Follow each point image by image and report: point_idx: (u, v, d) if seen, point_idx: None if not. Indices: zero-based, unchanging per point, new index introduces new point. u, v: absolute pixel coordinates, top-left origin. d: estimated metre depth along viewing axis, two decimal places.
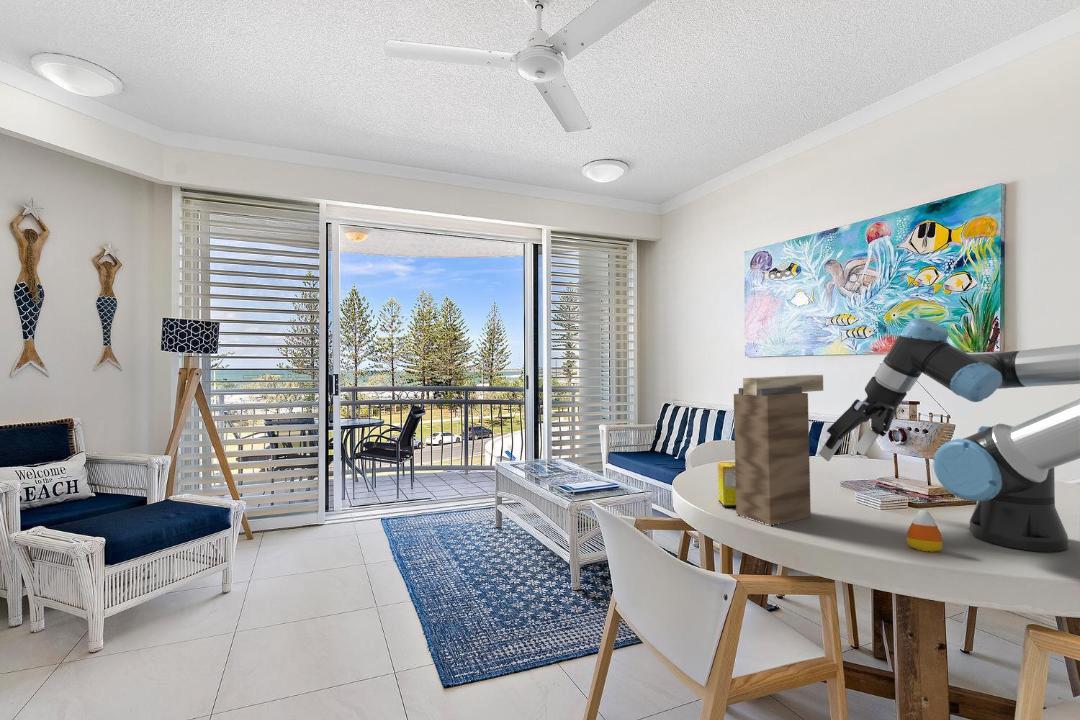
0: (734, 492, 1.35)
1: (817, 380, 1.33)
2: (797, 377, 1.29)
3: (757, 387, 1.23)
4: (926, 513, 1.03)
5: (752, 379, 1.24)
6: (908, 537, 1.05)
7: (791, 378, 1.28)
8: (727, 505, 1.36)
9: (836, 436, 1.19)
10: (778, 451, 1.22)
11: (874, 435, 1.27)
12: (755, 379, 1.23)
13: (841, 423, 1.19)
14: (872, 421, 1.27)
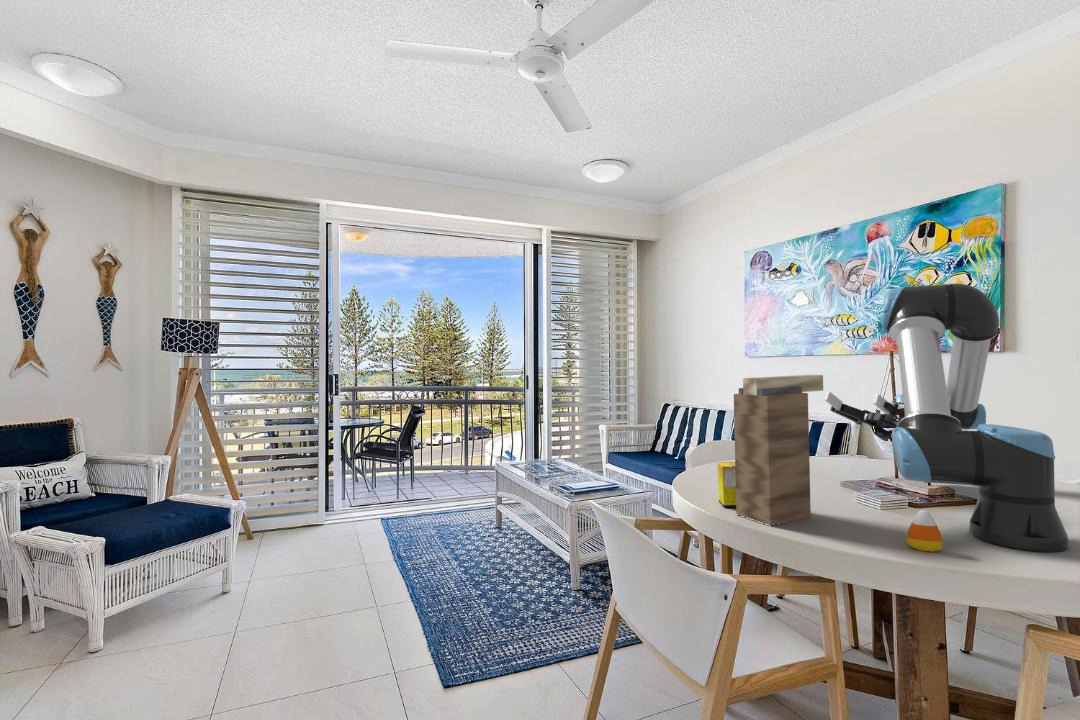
0: (734, 492, 1.35)
1: (817, 380, 1.33)
2: (797, 377, 1.29)
3: (757, 387, 1.23)
4: (926, 513, 1.03)
5: (752, 379, 1.24)
6: (908, 537, 1.05)
7: (791, 378, 1.28)
8: (727, 505, 1.36)
9: None
10: (778, 451, 1.22)
11: None
12: (755, 379, 1.23)
13: None
14: (887, 416, 1.41)
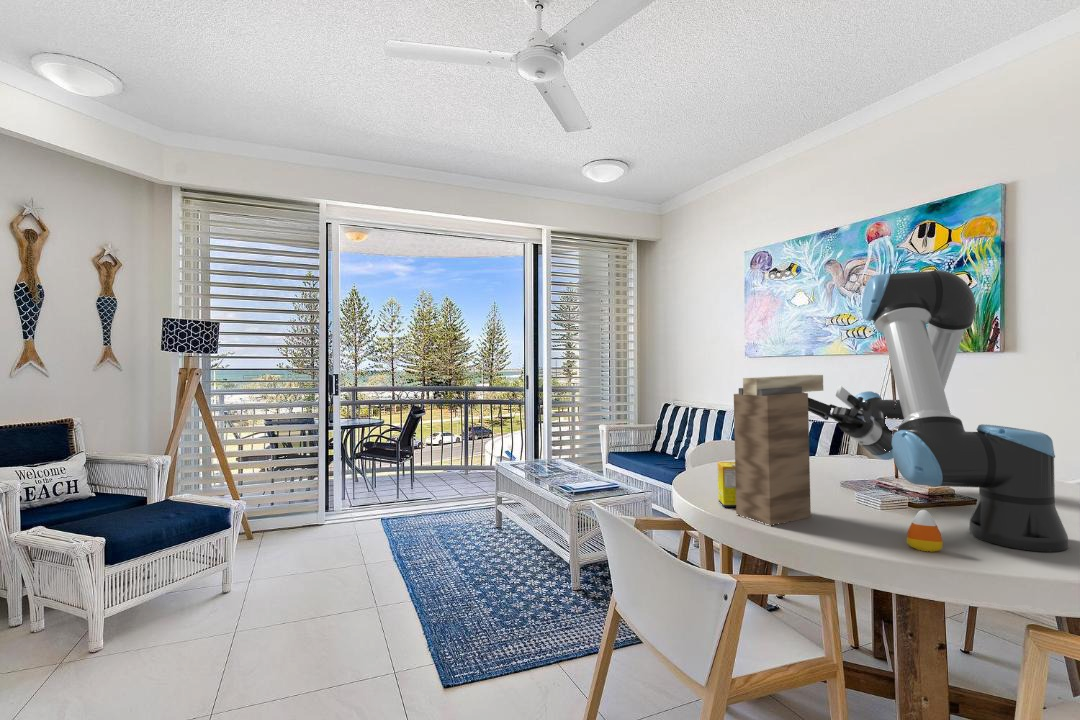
0: (734, 492, 1.35)
1: (817, 380, 1.33)
2: (797, 377, 1.29)
3: (757, 387, 1.23)
4: (926, 513, 1.03)
5: (752, 379, 1.24)
6: (908, 537, 1.05)
7: (791, 378, 1.28)
8: (727, 505, 1.36)
9: None
10: (778, 451, 1.22)
11: None
12: (755, 379, 1.23)
13: None
14: (852, 410, 1.35)
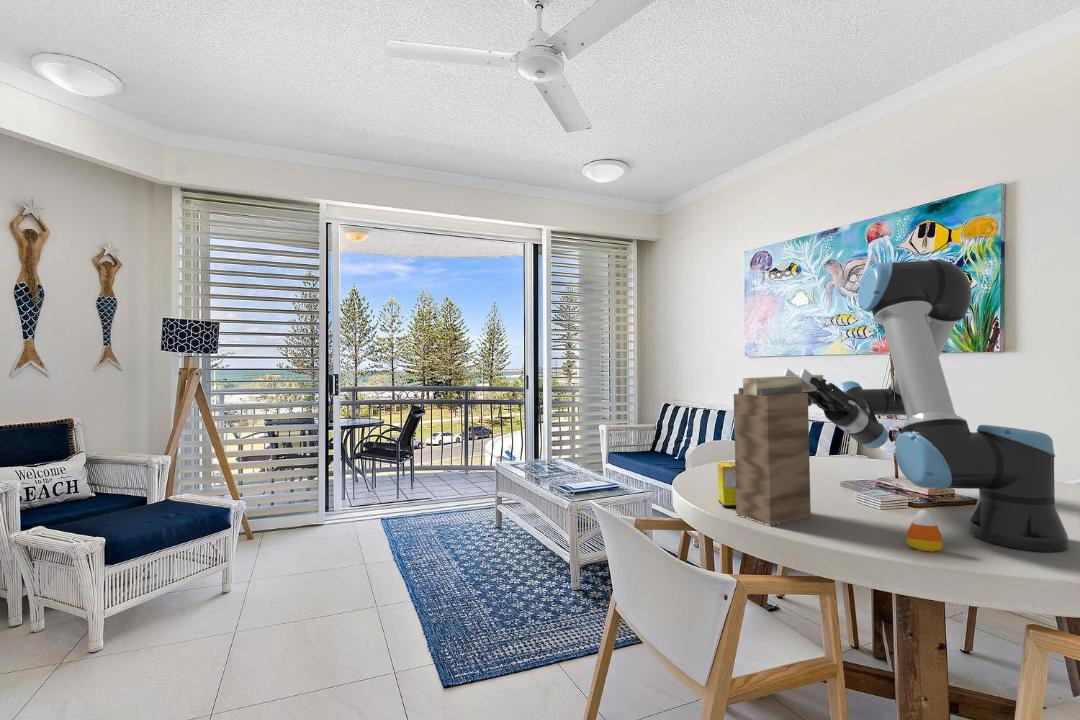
0: (734, 492, 1.35)
1: None
2: (797, 377, 1.29)
3: (757, 387, 1.23)
4: (926, 513, 1.03)
5: (752, 379, 1.24)
6: (908, 537, 1.05)
7: (791, 378, 1.28)
8: (727, 505, 1.36)
9: None
10: (778, 451, 1.22)
11: None
12: (755, 379, 1.23)
13: None
14: None
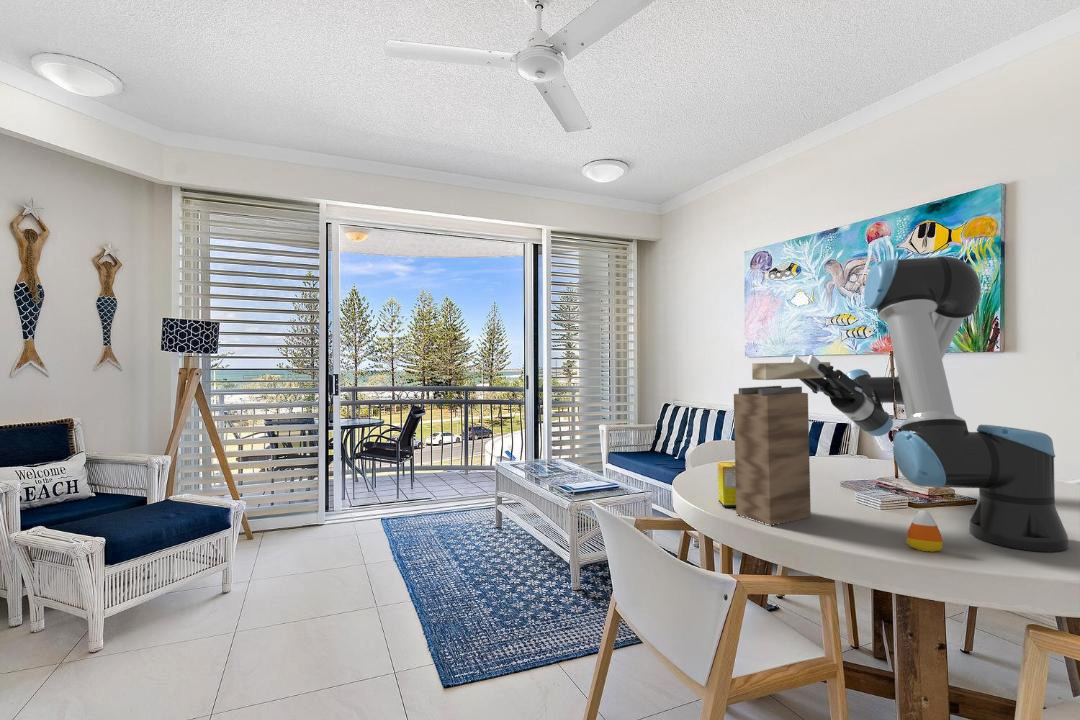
0: (734, 492, 1.35)
1: None
2: (805, 363, 1.32)
3: (766, 372, 1.25)
4: (926, 513, 1.03)
5: (761, 364, 1.26)
6: (908, 537, 1.05)
7: (799, 364, 1.31)
8: (727, 505, 1.36)
9: None
10: (778, 451, 1.22)
11: None
12: (764, 364, 1.26)
13: None
14: None
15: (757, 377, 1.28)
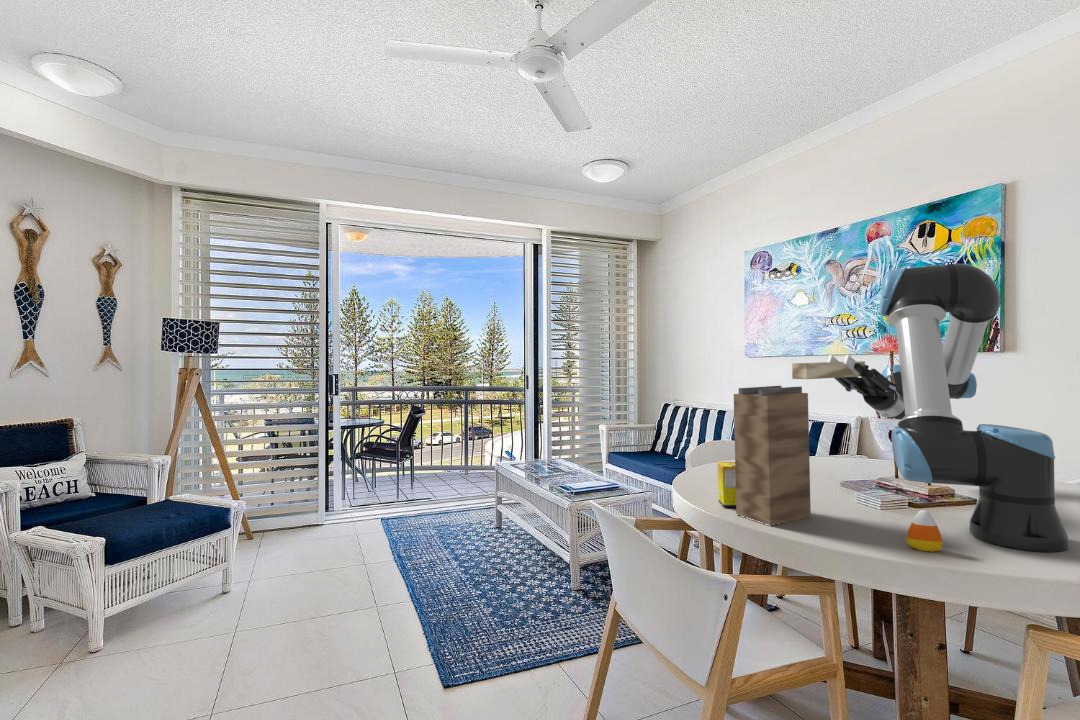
0: (734, 492, 1.35)
1: None
2: (842, 363, 1.38)
3: (807, 371, 1.31)
4: (926, 513, 1.03)
5: (802, 364, 1.32)
6: (908, 537, 1.05)
7: (837, 364, 1.37)
8: (727, 505, 1.36)
9: None
10: (778, 451, 1.22)
11: None
12: (805, 364, 1.31)
13: None
14: None
15: (797, 376, 1.33)
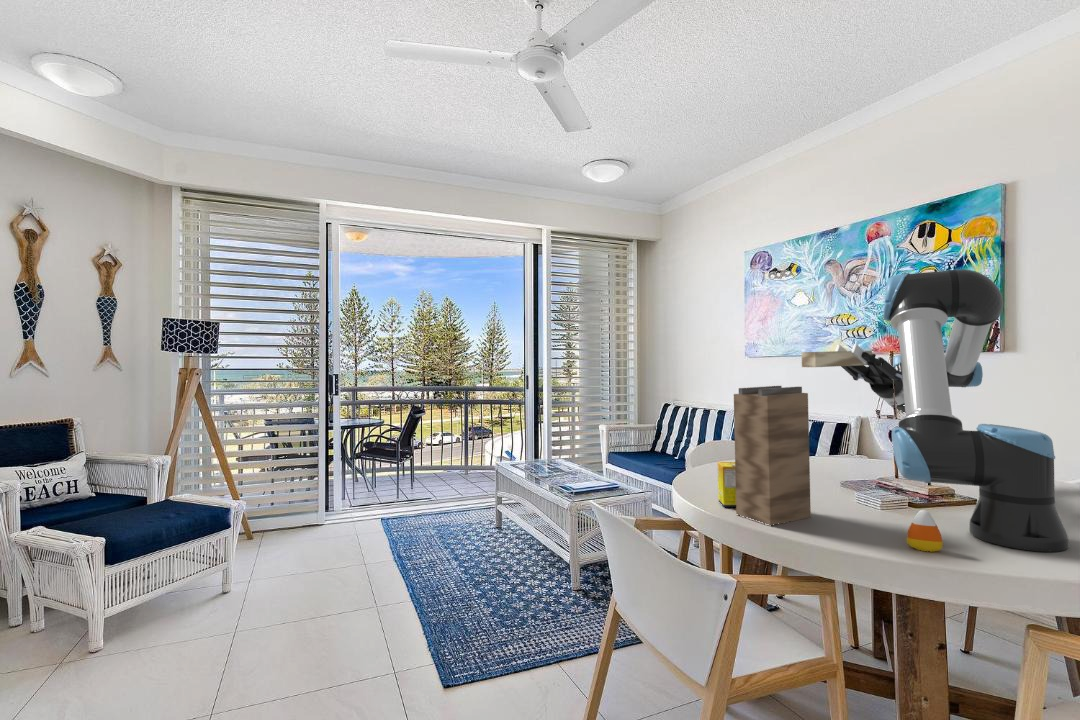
0: (734, 492, 1.35)
1: None
2: (850, 352, 1.42)
3: (816, 360, 1.36)
4: (926, 513, 1.03)
5: (811, 352, 1.37)
6: (908, 537, 1.05)
7: (845, 352, 1.41)
8: (727, 505, 1.36)
9: None
10: (778, 451, 1.22)
11: None
12: (814, 352, 1.36)
13: None
14: None
15: (806, 365, 1.38)
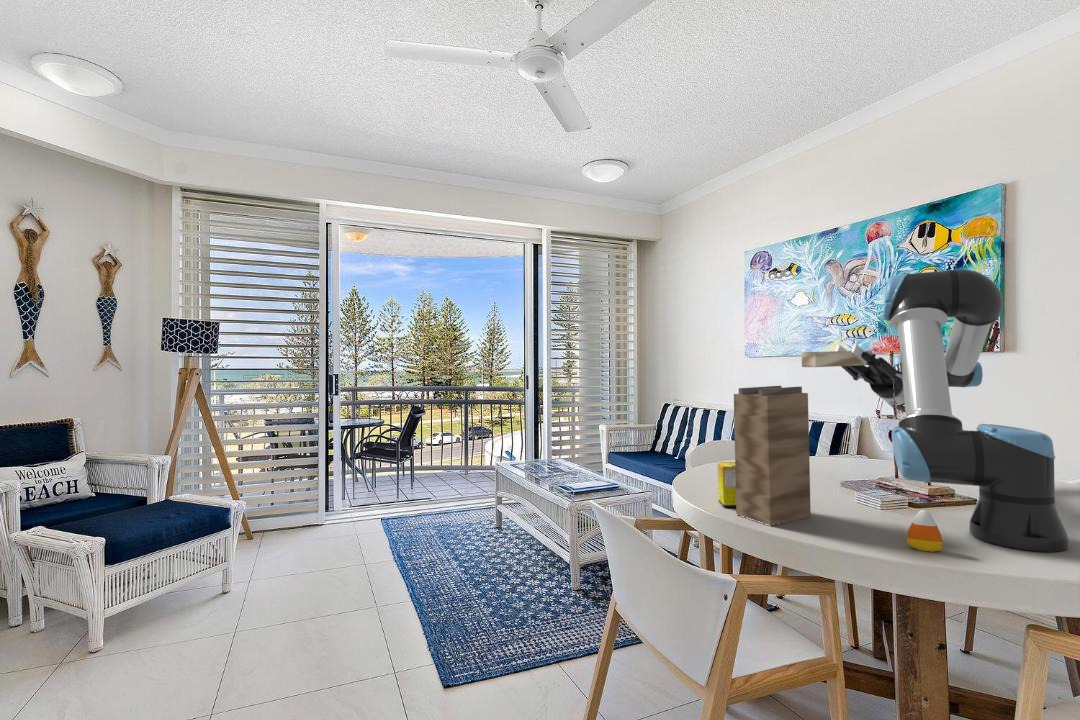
0: (734, 492, 1.35)
1: None
2: (850, 352, 1.42)
3: (816, 360, 1.36)
4: (926, 513, 1.03)
5: (811, 352, 1.37)
6: (908, 537, 1.05)
7: (845, 352, 1.41)
8: (727, 505, 1.36)
9: None
10: (778, 451, 1.22)
11: None
12: (814, 352, 1.36)
13: None
14: None
15: (806, 365, 1.38)
